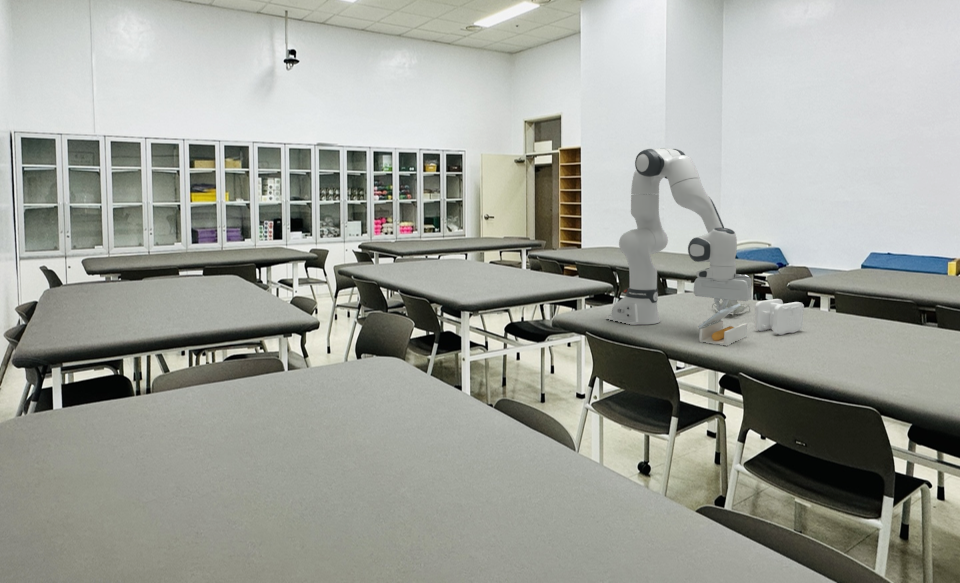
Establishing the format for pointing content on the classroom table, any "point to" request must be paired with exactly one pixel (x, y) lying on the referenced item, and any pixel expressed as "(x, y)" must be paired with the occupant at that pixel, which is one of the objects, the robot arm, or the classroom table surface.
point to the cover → (719, 315)
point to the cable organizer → (779, 316)
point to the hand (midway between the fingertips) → (721, 310)
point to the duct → (729, 335)
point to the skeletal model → (732, 303)
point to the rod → (720, 333)
